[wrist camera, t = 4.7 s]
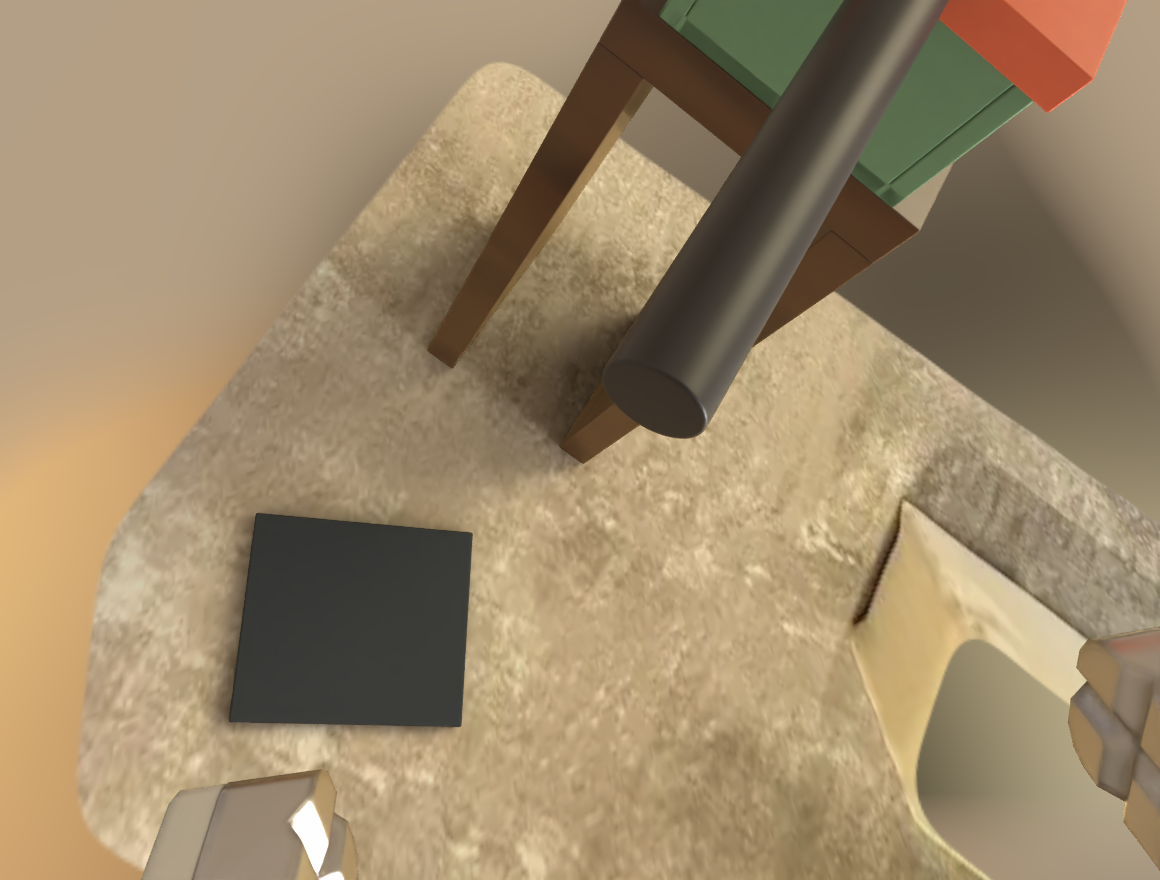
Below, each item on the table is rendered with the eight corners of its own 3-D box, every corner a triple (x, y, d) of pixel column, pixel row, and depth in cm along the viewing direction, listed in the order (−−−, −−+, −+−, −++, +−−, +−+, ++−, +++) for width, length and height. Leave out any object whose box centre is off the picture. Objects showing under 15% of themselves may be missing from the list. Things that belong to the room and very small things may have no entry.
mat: (228, 721, 39) (228, 721, 39) (255, 515, 42) (255, 512, 41) (458, 726, 42) (461, 726, 42) (470, 534, 45) (472, 532, 44)
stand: (583, 464, 48) (920, 232, 25) (426, 350, 47) (626, -9, 23) (669, 327, 52) (1026, 18, 29) (527, 219, 51) (782, -197, 28)
